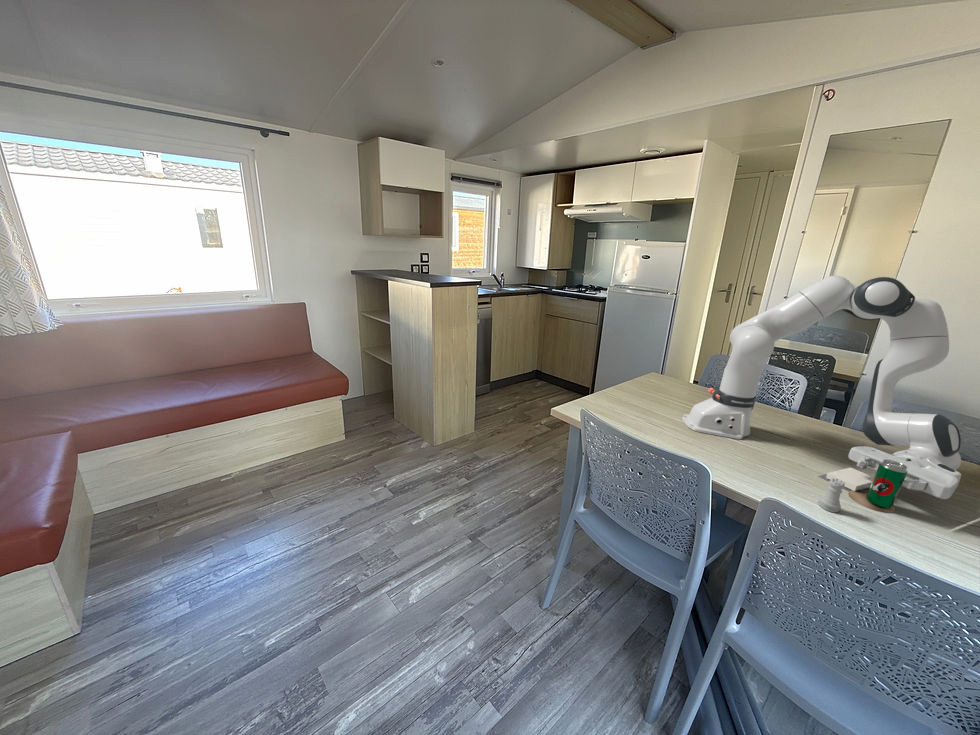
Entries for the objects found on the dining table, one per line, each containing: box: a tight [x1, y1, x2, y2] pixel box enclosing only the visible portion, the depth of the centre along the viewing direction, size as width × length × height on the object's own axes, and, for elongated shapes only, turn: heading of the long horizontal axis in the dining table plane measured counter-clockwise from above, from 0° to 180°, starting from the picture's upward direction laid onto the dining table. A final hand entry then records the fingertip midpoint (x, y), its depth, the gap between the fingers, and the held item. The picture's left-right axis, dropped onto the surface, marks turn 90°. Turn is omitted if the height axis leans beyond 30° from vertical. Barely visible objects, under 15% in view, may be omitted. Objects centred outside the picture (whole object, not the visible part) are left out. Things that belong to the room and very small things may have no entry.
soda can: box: [866, 460, 908, 509], centre depth 98 cm, size 5×5×12 cm
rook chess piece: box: [817, 478, 845, 513], centre depth 98 cm, size 4×4×8 cm
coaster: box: [847, 490, 896, 514], centre depth 101 cm, size 9×9×1 cm
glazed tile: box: [826, 467, 874, 491], centre depth 110 cm, size 2×7×11 cm
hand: (882, 474), depth 99 cm, fingers open, 8 cm apart
